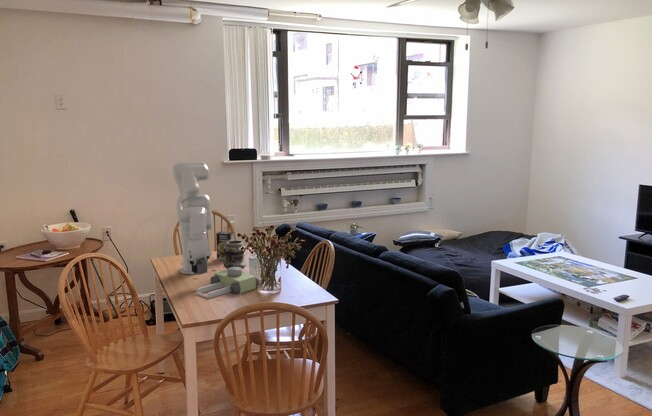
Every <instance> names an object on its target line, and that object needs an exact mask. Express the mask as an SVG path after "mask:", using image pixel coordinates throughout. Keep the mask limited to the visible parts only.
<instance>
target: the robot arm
mask: <svg viewBox="0 0 652 416" xmlns="http://www.w3.org/2000/svg"><path fill="white" fill-rule="evenodd" d="M172 174H173V178H174V180H175V184H176V185H177V187H178V194H179V195H178V197H177V200H176V203H175V206H176V215H177V219H178V221H179V228H180V232H181V233H180V234H181V246H182V247H181V248H182V262H181V263H180V266H182V268H181V269H180V273H181V274H184V275H196V274H195V273H197V265H196V261H197V259H200V258H203V259H205V260H206V263H207V264H208V261H209V259H210V257H211V256H212V255H213V254H212V252H211V250H210V245H209V240H208V237H207V235H209V232H208V231H211V230H212V229H213V227H214V220H213V211H212V210H213V209H212V203H211V198H210V196H209V195H207V194H204V193H203V194H202V193H201V194H200V192H201V186H200V181H201V182H202V181H203V182H204V181H205V182H206V181H209V178H210V169H209V167H208V165H207V163H205V162H204V161H182V162H177V163H175V164H173V166H172ZM191 265H192V267H191ZM193 272H194V273H193Z"/></svg>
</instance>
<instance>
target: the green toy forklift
mask: <svg viewBox="0 0 652 416" xmlns="http://www.w3.org/2000/svg"><path fill="white" fill-rule="evenodd" d="M242 270H243V269H242V268H240V267H230V268H228V269H225V270H221V271H220V270H219V271H217V272H214V273H213V275H214V276H211V277H210V283H211V284H208V285H206V286H202V287H198V288H196V292H195V295H198V296H201V297H202V298H206V299H211V298H212V299H213V298H214V297H218V296H221V295H224V294H228V293H233V294H234V295H235V294H241V293H242V294H243V293H245V292H249V291H252V290H254V289H257V288H258V287H259V286H260V282H261V281H260V279H259V278H258V277H257V276H255V275H252V274H248V273H246V272H244V273H242V272H243V271H242ZM206 292H207V294H205V293H206Z"/></svg>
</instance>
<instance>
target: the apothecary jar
mask: <svg viewBox="0 0 652 416" xmlns="http://www.w3.org/2000/svg"><path fill="white" fill-rule="evenodd" d="M242 247H244V248H245V247H246V246H245V245H244V241H242V240H239V239H234V240H230V241H227V244H226V246H225V247H224V252H225V253H226V260H224V262H223V267H224V268H225V270H227V269H228V268H230V267H240V268H242V270H244V269H245V268H246V266H247V261H246V260H245V252H246V250H247V249H246V250H244V252H243V251H242V250H241V248H242ZM242 273H245V271H242Z"/></svg>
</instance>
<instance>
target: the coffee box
mask: <svg viewBox="0 0 652 416" xmlns="http://www.w3.org/2000/svg"><path fill="white" fill-rule="evenodd" d="M215 236H216V238H215V239H216V243H215V244H216V260H218V261H226V253H225V252H224V247H225V246H226V244H227V241H230V240H235V231H220V230H219V231H218V232H217V233H216V235H215Z"/></svg>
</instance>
